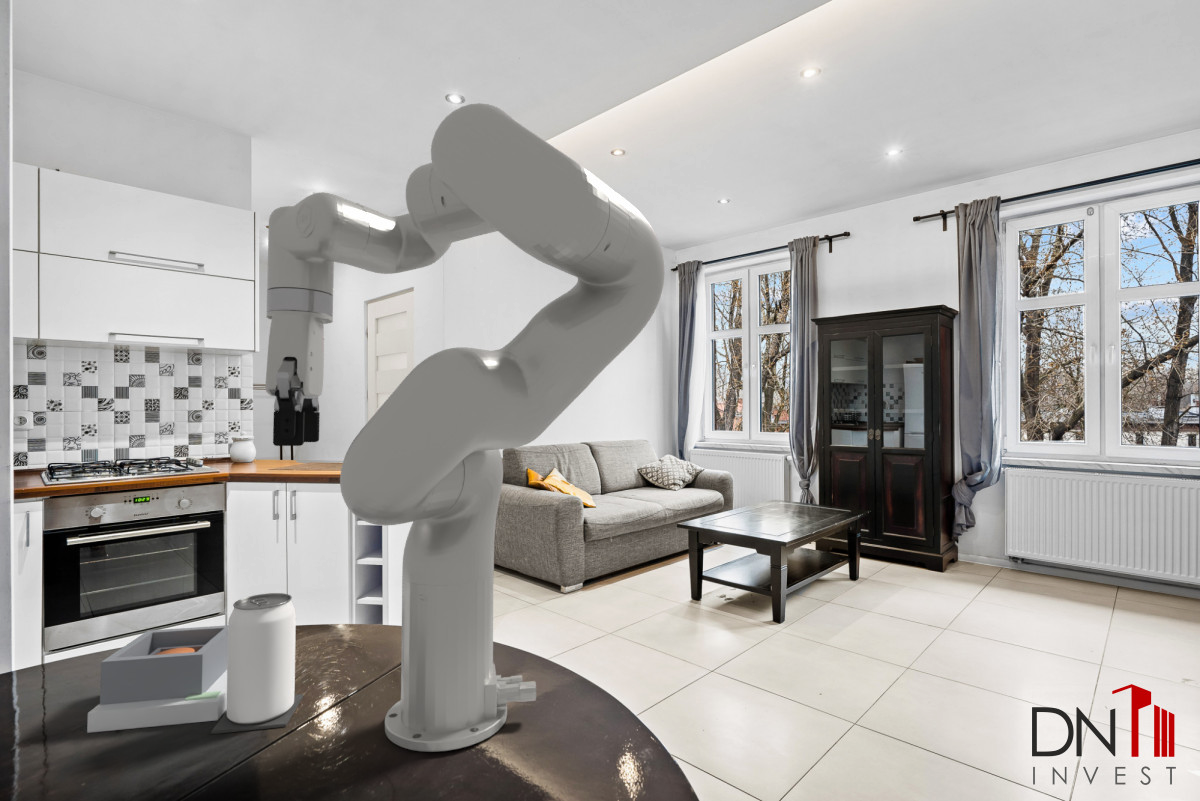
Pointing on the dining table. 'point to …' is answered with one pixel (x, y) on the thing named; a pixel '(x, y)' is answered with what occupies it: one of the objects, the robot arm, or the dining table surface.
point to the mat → (282, 721)
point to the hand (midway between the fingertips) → (297, 443)
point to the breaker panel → (163, 680)
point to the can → (261, 658)
